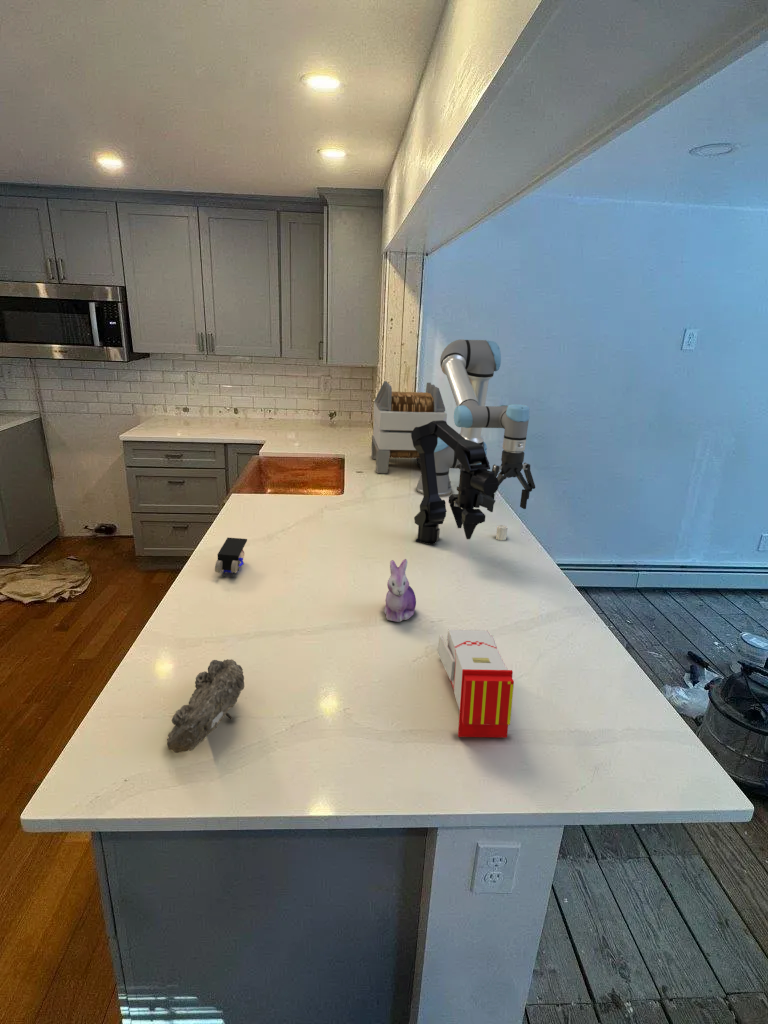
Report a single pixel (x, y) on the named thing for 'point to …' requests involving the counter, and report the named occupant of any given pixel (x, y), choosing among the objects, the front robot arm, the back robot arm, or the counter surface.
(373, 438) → the grey crate
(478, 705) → the toy
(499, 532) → the beige cylinder
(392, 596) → the figurine
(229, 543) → the black toy vehicle
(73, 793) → the counter surface
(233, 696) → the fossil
